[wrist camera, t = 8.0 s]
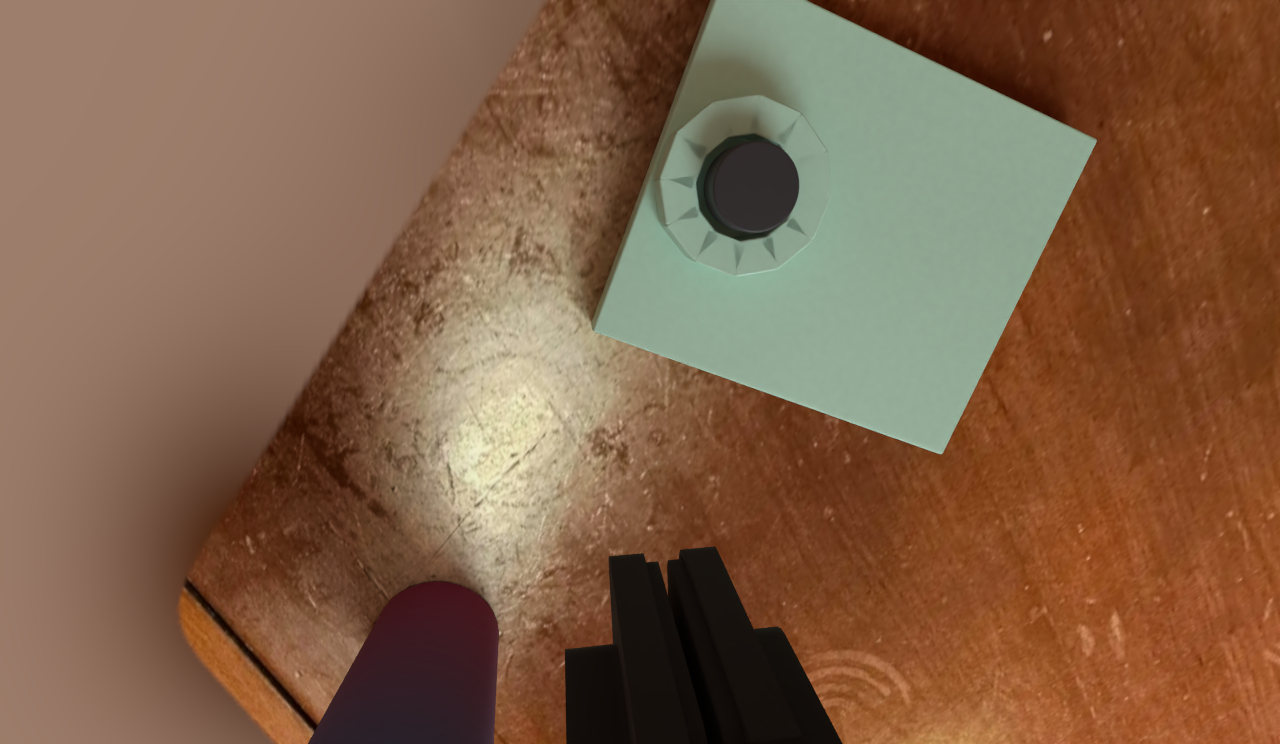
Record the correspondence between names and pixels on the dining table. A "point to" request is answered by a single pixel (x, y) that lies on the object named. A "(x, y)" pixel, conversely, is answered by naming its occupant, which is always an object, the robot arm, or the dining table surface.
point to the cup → (420, 673)
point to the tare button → (751, 187)
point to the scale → (841, 221)
